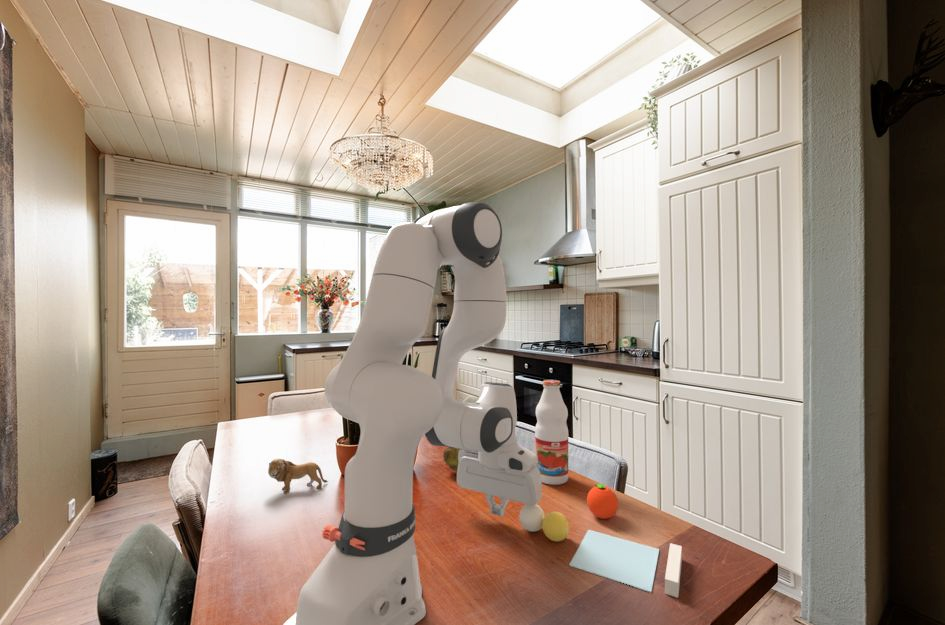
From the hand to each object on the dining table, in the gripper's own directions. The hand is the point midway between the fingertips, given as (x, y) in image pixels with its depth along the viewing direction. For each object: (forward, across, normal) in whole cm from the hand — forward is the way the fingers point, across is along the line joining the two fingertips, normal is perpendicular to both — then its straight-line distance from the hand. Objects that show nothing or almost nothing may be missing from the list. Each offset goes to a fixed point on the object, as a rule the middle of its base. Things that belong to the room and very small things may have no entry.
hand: (497, 514), depth 89 cm
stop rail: (+2, +36, -1) cm, 36 cm away
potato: (+2, -20, +19) cm, 28 cm away
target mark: (+2, +26, -1) cm, 26 cm away
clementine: (+2, +20, +14) cm, 25 cm away
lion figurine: (+2, -54, -12) cm, 55 cm away
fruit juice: (+2, +3, +29) cm, 29 cm away
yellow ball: (-1, +14, 0) cm, 14 cm away
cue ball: (-1, +8, 0) cm, 8 cm away
